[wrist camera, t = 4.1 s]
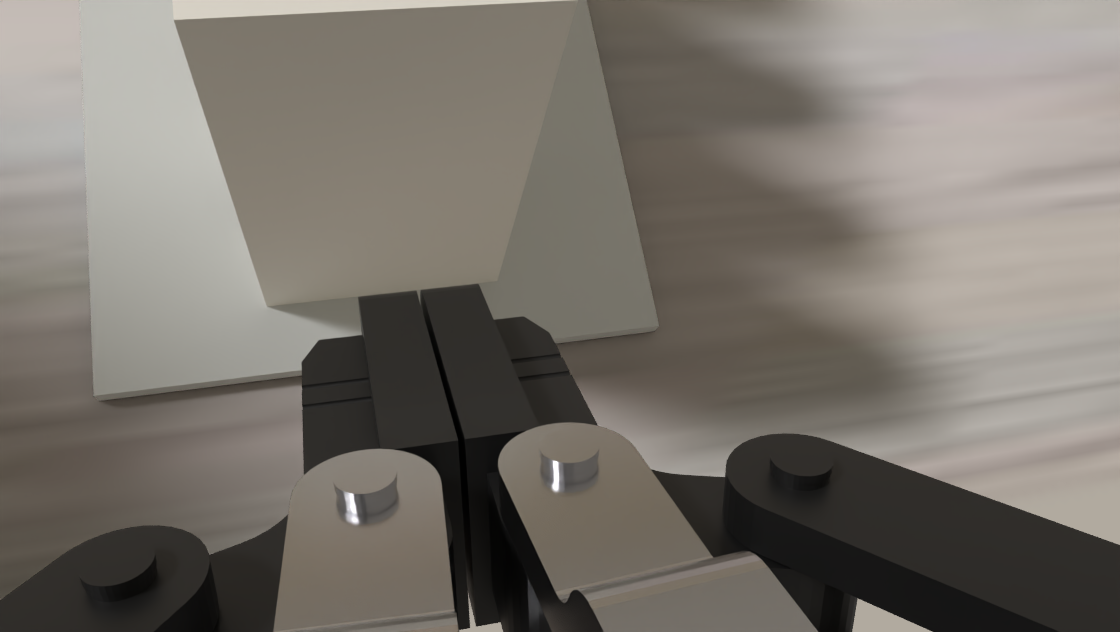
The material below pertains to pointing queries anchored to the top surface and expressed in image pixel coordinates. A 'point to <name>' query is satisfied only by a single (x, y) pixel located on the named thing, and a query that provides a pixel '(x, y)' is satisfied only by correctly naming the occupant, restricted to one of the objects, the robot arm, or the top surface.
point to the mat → (221, 251)
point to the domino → (374, 133)
